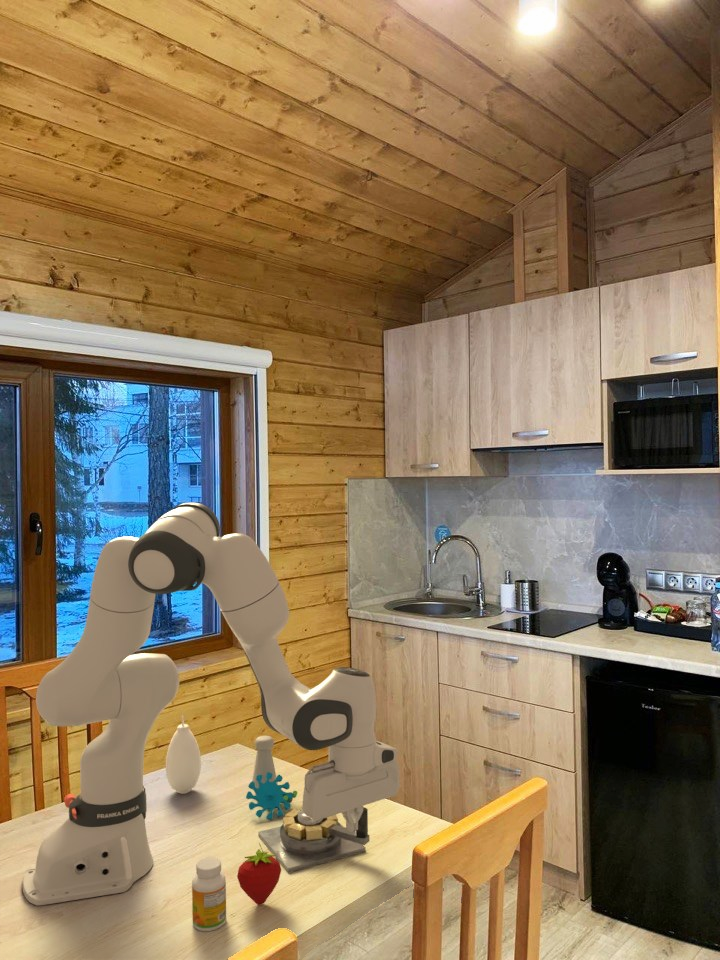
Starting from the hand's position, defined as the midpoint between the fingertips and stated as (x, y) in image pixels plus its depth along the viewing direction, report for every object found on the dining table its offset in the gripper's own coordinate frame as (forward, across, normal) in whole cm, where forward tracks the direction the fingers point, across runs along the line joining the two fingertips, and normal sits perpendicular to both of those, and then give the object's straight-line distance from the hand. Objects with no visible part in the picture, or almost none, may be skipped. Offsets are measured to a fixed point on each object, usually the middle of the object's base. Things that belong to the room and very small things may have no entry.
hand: (352, 830), depth 140 cm
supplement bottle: (+7, -29, 0) cm, 30 cm away
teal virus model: (+7, 0, +28) cm, 29 cm away
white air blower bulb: (+7, -11, +50) cm, 52 cm away
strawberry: (+7, -20, 0) cm, 21 cm away
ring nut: (+3, 0, +8) cm, 9 cm away
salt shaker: (+6, +3, +38) cm, 38 cm away
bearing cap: (+7, -1, +12) cm, 14 cm away
